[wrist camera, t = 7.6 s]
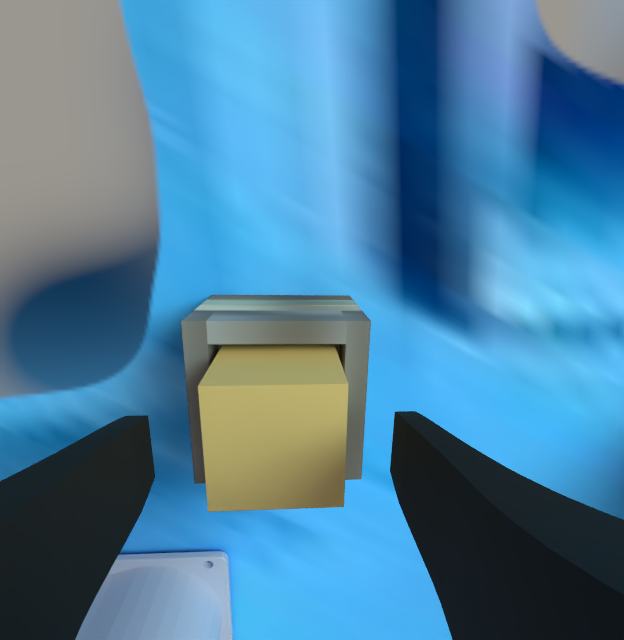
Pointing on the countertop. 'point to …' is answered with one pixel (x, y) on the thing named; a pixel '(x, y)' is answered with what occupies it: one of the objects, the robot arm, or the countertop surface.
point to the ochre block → (274, 427)
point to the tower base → (279, 328)
